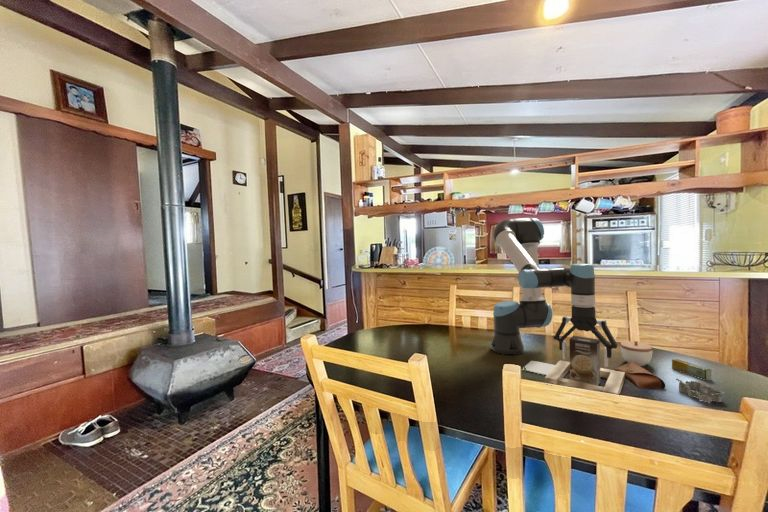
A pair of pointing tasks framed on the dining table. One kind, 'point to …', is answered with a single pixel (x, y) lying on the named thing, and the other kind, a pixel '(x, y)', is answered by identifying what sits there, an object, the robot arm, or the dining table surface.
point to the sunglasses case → (640, 376)
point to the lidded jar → (636, 352)
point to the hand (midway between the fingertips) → (584, 362)
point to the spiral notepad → (539, 367)
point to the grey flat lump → (701, 391)
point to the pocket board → (611, 385)
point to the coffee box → (585, 360)
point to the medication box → (691, 369)
